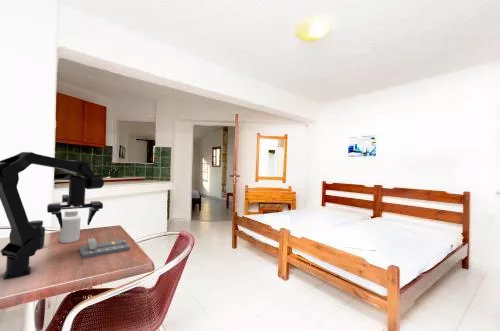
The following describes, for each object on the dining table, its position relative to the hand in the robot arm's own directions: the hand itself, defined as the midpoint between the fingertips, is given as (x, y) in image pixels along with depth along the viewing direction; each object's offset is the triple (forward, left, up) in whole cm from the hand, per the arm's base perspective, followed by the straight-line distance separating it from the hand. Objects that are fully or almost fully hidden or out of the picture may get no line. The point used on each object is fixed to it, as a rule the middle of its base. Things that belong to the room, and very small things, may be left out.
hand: (75, 226), depth 100 cm
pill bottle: (+22, 0, -12) cm, 26 cm away
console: (-1, -11, -12) cm, 17 cm away
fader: (-1, -6, -10) cm, 12 cm away
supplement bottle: (+18, +13, -12) cm, 25 cm away
